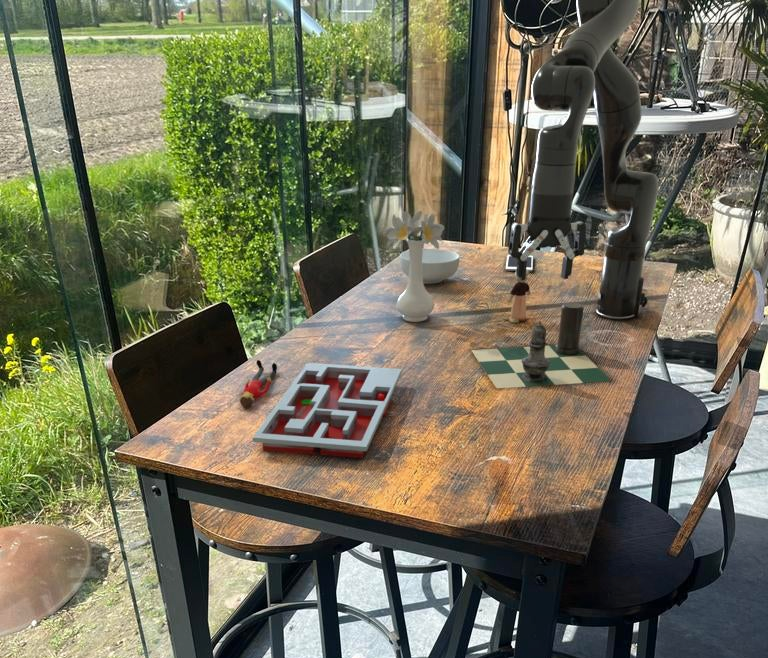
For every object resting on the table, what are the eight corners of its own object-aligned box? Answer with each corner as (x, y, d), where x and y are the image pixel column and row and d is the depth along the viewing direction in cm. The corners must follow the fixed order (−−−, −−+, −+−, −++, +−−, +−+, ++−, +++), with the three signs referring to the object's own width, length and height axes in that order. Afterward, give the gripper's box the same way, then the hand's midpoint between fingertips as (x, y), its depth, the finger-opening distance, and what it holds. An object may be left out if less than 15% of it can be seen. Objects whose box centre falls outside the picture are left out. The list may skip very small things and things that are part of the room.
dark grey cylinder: (575, 346, 180) (580, 300, 175) (583, 354, 175) (589, 308, 170) (551, 347, 179) (556, 302, 174) (559, 355, 175) (565, 309, 169)
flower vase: (445, 307, 205) (449, 205, 192) (433, 331, 189) (436, 221, 176) (396, 304, 207) (396, 203, 194) (380, 327, 192) (379, 219, 179)
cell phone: (505, 270, 234) (505, 268, 234) (507, 256, 247) (507, 254, 247) (532, 271, 233) (532, 269, 232) (532, 257, 246) (533, 255, 246)
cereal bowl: (460, 288, 219) (461, 262, 215) (399, 288, 219) (400, 262, 216) (456, 272, 234) (457, 247, 230) (399, 272, 234) (399, 247, 230)
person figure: (276, 354, 165) (251, 388, 149) (283, 372, 166) (259, 407, 151) (254, 360, 166) (227, 394, 151) (261, 378, 168) (235, 413, 153)
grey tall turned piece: (531, 385, 161) (536, 327, 154) (514, 375, 165) (519, 319, 159) (554, 380, 163) (561, 322, 157) (537, 370, 167) (542, 314, 161)
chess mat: (574, 344, 181) (574, 343, 181) (611, 381, 163) (611, 380, 163) (471, 350, 178) (471, 349, 178) (496, 388, 160) (496, 388, 160)
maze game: (366, 464, 133) (366, 446, 131) (254, 454, 136) (252, 437, 135) (401, 383, 162) (401, 368, 161) (308, 377, 165) (307, 362, 164)
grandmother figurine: (517, 325, 193) (522, 272, 186) (503, 322, 195) (507, 269, 188) (532, 317, 198) (537, 265, 191) (519, 314, 200) (523, 263, 193)
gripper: (520, 194, 142) (512, 285, 151) (597, 192, 144) (585, 282, 152) (509, 187, 149) (502, 275, 157) (582, 185, 150) (572, 272, 159)
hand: (543, 278), depth 155 cm, fingers open, 8 cm apart
